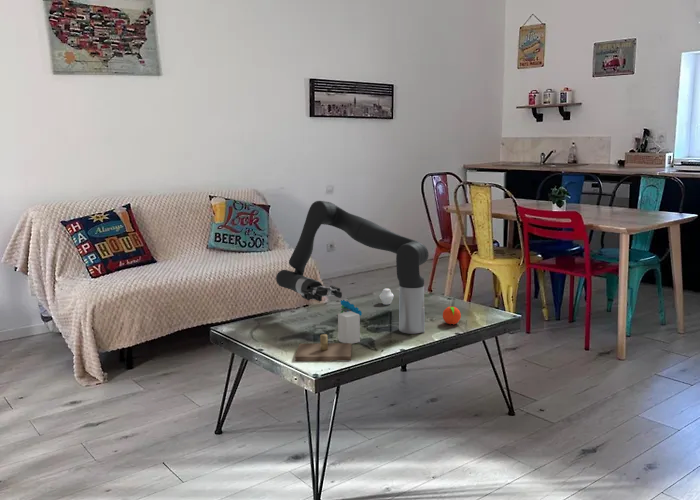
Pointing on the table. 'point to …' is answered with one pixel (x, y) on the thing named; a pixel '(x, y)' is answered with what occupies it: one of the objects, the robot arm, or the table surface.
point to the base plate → (323, 351)
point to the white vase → (386, 296)
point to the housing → (349, 327)
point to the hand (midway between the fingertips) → (331, 296)
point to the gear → (349, 307)
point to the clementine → (451, 315)
